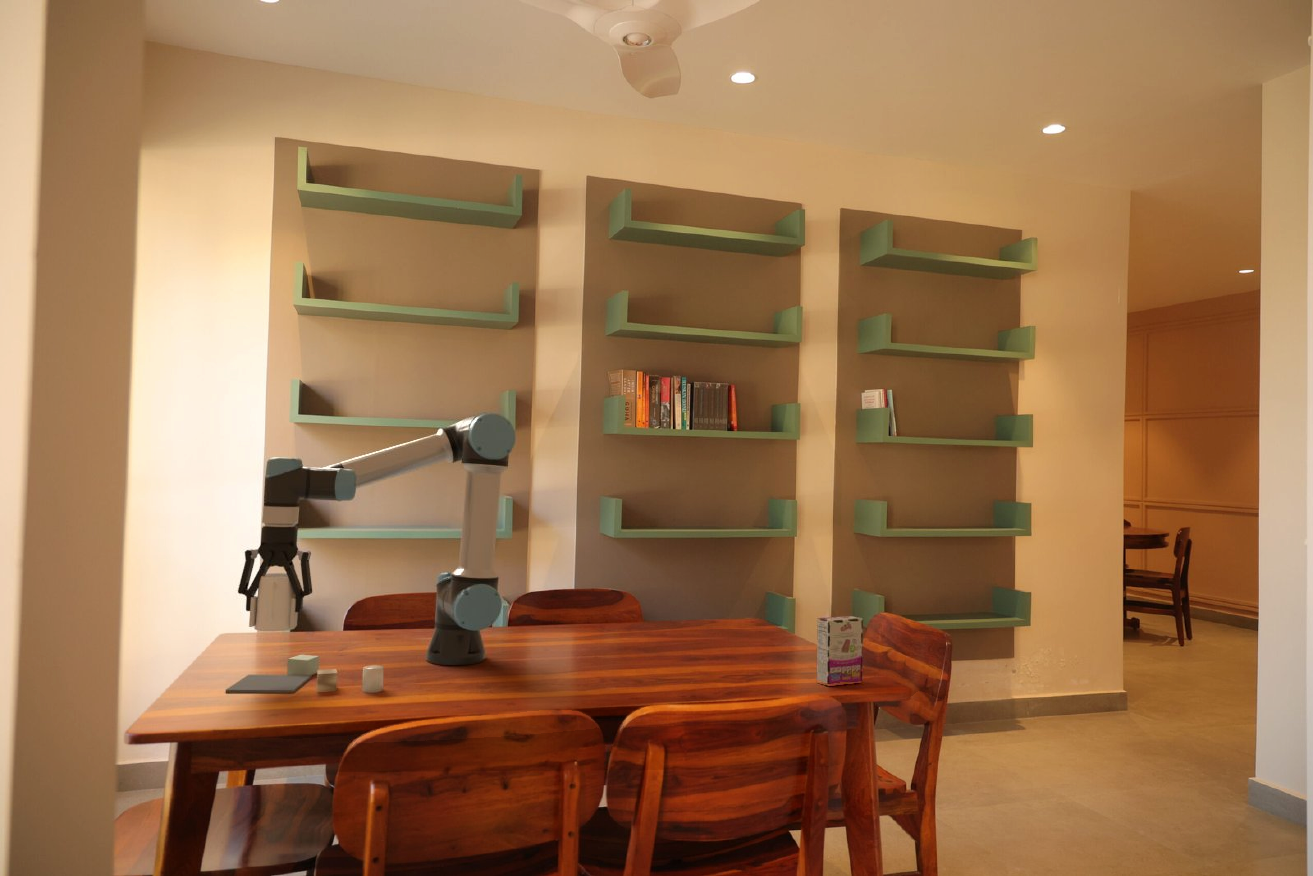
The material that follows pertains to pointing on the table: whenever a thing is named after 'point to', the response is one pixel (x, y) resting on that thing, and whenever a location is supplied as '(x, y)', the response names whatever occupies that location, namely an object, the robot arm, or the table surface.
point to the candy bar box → (839, 649)
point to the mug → (274, 603)
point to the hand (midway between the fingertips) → (273, 626)
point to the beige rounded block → (372, 679)
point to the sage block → (303, 665)
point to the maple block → (326, 680)
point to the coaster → (269, 684)
